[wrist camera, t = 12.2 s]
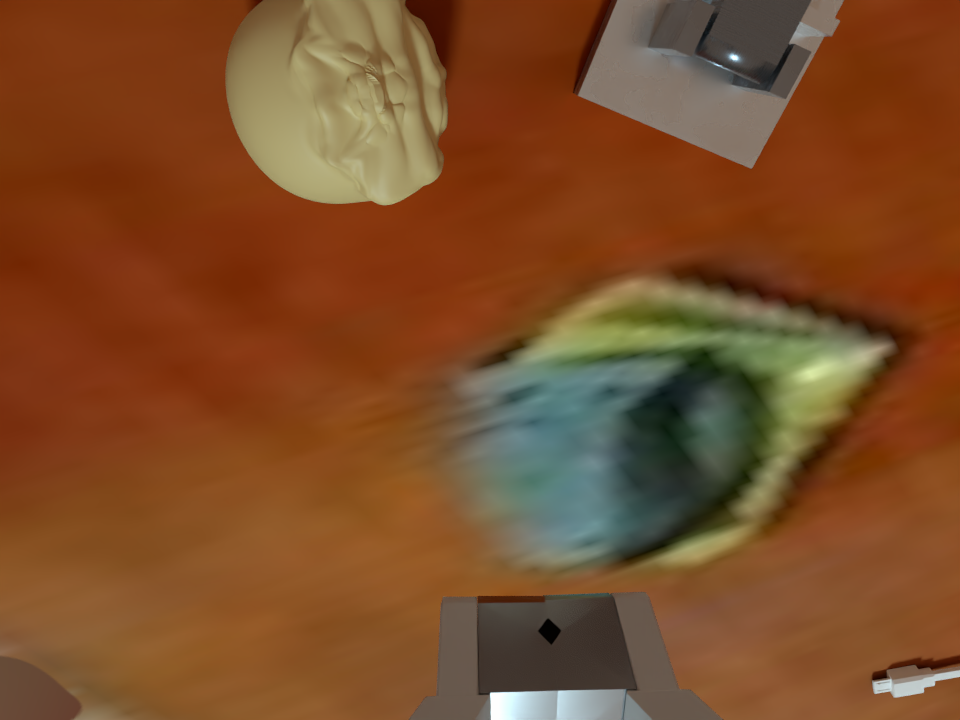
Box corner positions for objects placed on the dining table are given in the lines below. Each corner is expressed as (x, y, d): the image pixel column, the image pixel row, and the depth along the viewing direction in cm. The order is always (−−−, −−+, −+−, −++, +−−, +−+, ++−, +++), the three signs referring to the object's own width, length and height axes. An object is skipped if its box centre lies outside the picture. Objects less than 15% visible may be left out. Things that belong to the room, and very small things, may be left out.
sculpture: (469, 162, 43) (469, 198, 33) (293, 201, 44) (243, 248, 34) (425, -39, 38) (411, -64, 28) (228, 11, 39) (148, 3, 29)
